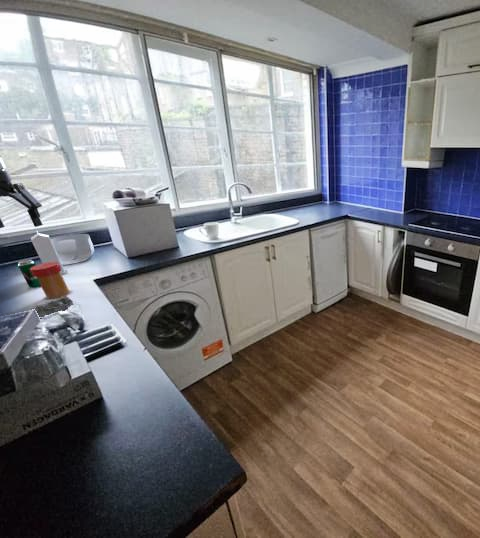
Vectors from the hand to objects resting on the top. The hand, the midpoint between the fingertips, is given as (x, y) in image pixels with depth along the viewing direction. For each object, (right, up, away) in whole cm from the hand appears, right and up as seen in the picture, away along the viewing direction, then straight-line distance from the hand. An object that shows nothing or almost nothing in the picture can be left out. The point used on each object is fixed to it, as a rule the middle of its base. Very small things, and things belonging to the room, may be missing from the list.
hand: (19, 227), depth 116 cm
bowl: (-25, -11, +49) cm, 56 cm away
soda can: (-11, -25, +17) cm, 32 cm away
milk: (-15, -19, +29) cm, 38 cm away
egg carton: (+19, -33, -5) cm, 38 cm away
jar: (+7, -28, +8) cm, 30 cm away
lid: (+7, -16, +3) cm, 18 cm away
